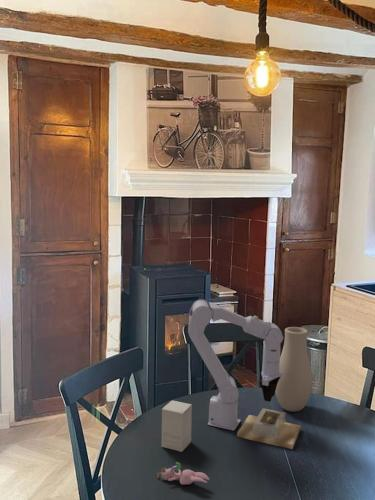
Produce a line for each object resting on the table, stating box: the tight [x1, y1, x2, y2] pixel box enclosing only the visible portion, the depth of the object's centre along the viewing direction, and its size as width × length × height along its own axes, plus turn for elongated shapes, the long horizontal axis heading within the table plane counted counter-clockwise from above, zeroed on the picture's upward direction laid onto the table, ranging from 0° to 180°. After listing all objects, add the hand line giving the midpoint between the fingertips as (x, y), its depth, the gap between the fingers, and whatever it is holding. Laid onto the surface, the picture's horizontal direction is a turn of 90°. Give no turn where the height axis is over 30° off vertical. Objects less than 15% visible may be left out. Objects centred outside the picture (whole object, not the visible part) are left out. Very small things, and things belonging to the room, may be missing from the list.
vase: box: [275, 326, 314, 412], centre depth 186 cm, size 14×14×30 cm
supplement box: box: [161, 400, 193, 453], centre depth 160 cm, size 7×7×13 cm
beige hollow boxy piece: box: [253, 407, 287, 440], centre depth 169 cm, size 8×12×4 cm, turn 157°
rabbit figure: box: [156, 461, 210, 485], centre depth 140 cm, size 6×6×15 cm
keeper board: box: [236, 414, 302, 450], centre depth 169 cm, size 18×14×6 cm
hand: (269, 398), depth 174 cm, fingers open, 4 cm apart
